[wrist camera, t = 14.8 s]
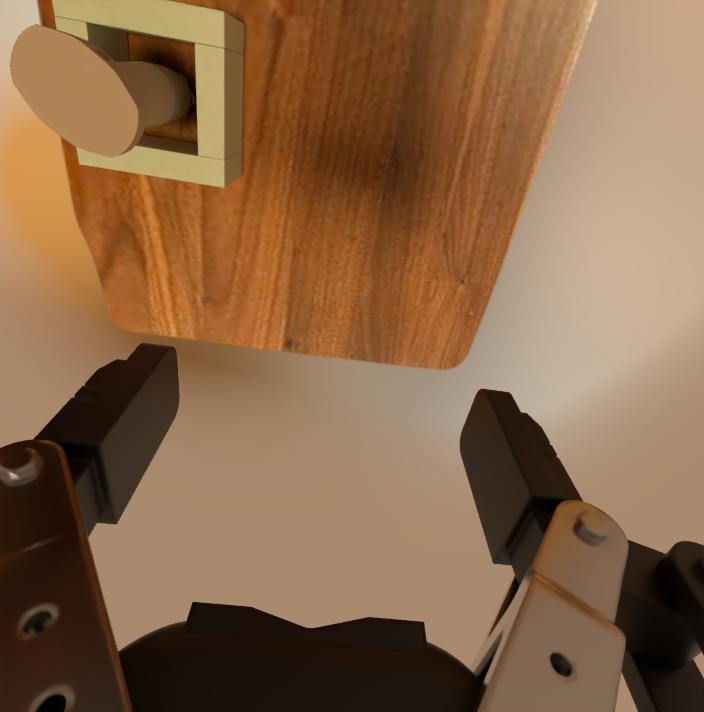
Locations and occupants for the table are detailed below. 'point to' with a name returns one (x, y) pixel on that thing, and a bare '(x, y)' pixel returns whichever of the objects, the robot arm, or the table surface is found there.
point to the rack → (213, 83)
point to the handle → (94, 91)
